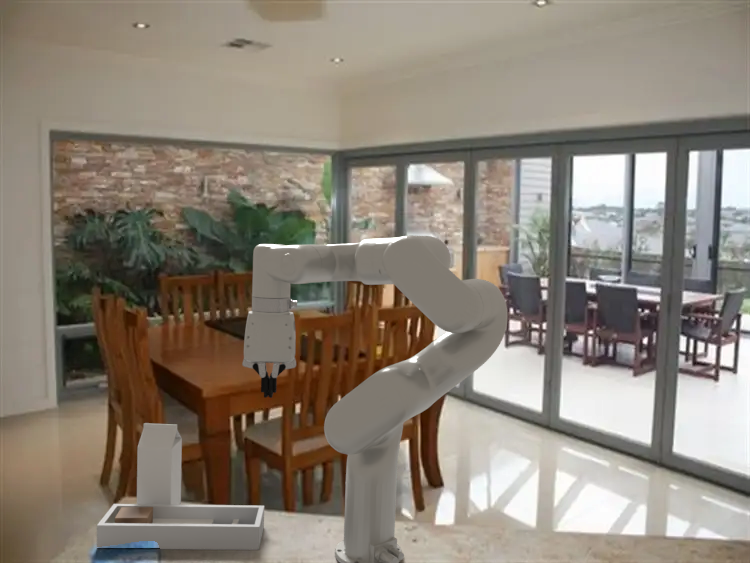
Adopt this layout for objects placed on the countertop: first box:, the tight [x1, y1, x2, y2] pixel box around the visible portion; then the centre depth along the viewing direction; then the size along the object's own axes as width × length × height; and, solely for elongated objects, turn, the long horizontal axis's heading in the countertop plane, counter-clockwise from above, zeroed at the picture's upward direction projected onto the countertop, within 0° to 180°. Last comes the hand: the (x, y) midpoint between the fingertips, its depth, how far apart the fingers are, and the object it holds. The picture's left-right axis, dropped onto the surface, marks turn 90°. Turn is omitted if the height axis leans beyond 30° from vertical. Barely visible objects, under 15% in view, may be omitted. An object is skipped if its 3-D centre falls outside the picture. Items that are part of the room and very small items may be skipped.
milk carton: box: [136, 422, 183, 505], centre depth 145 cm, size 7×7×19 cm
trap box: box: [96, 503, 265, 551], centre depth 134 cm, size 30×10×4 cm, turn 94°
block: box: [115, 507, 153, 524], centre depth 133 cm, size 6×5×3 cm
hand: (268, 395), depth 139 cm, fingers closed
